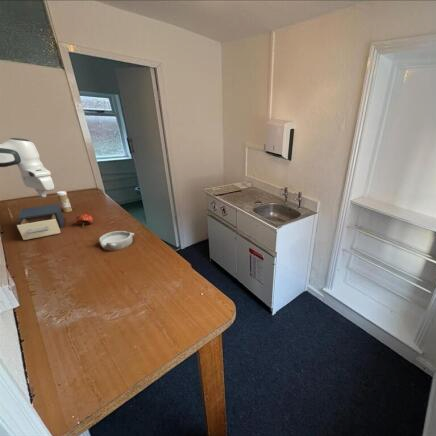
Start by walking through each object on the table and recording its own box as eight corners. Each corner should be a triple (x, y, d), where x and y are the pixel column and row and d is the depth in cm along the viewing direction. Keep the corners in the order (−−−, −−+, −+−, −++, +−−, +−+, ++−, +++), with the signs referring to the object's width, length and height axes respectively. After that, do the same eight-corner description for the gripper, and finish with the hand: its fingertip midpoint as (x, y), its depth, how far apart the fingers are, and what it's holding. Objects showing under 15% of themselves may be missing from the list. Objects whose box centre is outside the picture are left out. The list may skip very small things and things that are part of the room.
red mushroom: (93, 229, 135) (98, 215, 140) (82, 224, 129) (89, 208, 133) (80, 230, 135) (86, 216, 140) (69, 225, 129) (76, 209, 133)
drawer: (60, 236, 121) (54, 222, 118) (22, 243, 113) (15, 229, 109) (61, 223, 134) (56, 211, 131) (27, 229, 126) (21, 216, 123)
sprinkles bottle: (61, 212, 151) (54, 192, 145) (66, 210, 155) (59, 190, 149) (69, 212, 151) (62, 192, 146) (74, 210, 156) (67, 190, 150)
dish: (117, 253, 110) (114, 244, 108) (93, 249, 112) (90, 240, 110) (141, 239, 123) (139, 231, 121) (119, 236, 125) (116, 228, 123)
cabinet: (63, 227, 131) (57, 211, 128) (25, 234, 122) (17, 217, 119) (64, 218, 142) (58, 203, 139) (29, 224, 133) (22, 208, 130)
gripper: (13, 169, 121) (24, 195, 126) (36, 174, 114) (46, 201, 120) (29, 167, 126) (39, 192, 131) (52, 172, 119) (61, 197, 125)
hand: (43, 196), depth 125 cm, fingers closed
